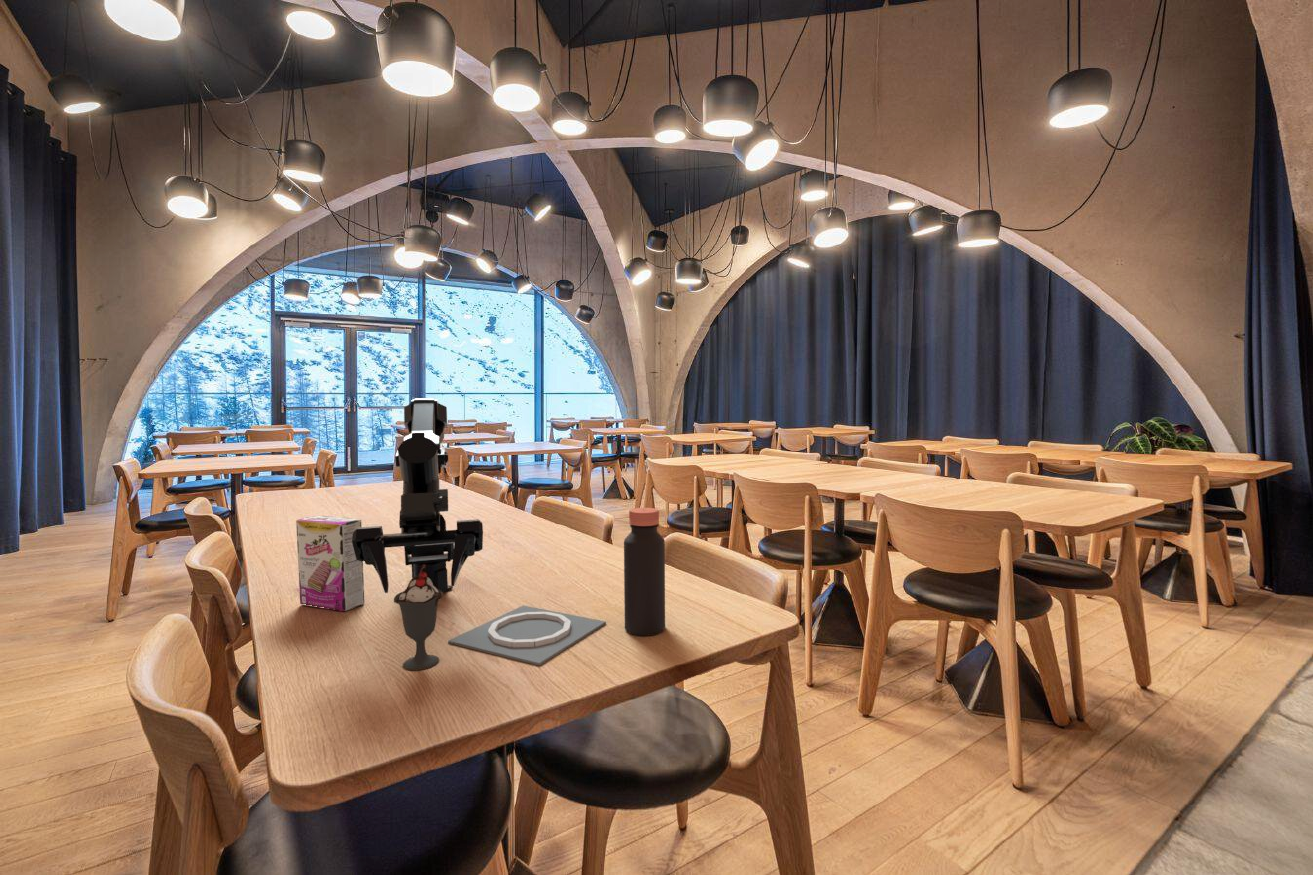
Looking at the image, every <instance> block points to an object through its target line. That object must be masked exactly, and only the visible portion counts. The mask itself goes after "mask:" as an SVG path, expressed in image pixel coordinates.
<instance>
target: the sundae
mask: <svg viewBox="0 0 1313 875" xmlns="http://www.w3.org/2000/svg"><path fill="white" fill-rule="evenodd" d="M424 568H425V564H423V567H422V568H421V571H420V573H419V576H416V577H415V576H413V578H412V577H411V579H410V580H409V582H408V584H407V587H406V588H405V589H404V590H403V591H401V592H399V593H397V594H396V595H395V596H394V598H393V602H394V603H395V604H398V606H399V609H400V612H401V618H402V625H403V629H404V632H405V635H406V636H408V638H410V639H411V640H413V641H414V642H415V648H416V649H415V655H414V656H412V657H410V658H408V659H407V660H405V661H404V662H403V664H402V667H403V669H405V670H407V671H423V670H427V669H430V668H432V667H434V666H436V665H437V664H438V663H439V662H440V659H439V656H436V655H434V654H428V653H427V650H426V640H427V638H429V637H430V636H431V635H432V633H433V632H434V631H435V627H436V623H437V613H438V606H439V600H440V599H442V596H443V595H444V592H442V591H440V590H439V589H436V587H435V586H433V583H432V581H431V579H430V578H428V577H427V574H426V573H425V572H422V570H423V569H424Z"/></svg>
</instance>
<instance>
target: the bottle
mask: <svg viewBox="0 0 1313 875" xmlns="http://www.w3.org/2000/svg"><path fill="white" fill-rule="evenodd" d="M628 512H629V513H628V517H629V518H628V520H629V527H630V528H631V529H630V530H631V531H630V533H628V535H627V536H626V537H625V538H624V540H623V561H624V562H623V580H624V581H623V583H624V584H623V587H624V589H623V590H624V595H623V596H624V597H623V598H624V600H623V601H624V602H623V604H624V629H625V631H626V632H627V633H629V634H631V635H634V636H638V637H640V636H641V637H649V636H655V635H658V634H660V633H662V632H664V630H665V628H666V567H665V566H666V558H665V556H666V555H665V554H666V549H665V546H666V544H665V543H666V542H665V541H666V540H665V538H664V537H663V536H662V535H661V534H660V533H659V532H658V527H659V524H660V510H659V509H658V508H654V507H635V508H631V509H629V511H628Z"/></svg>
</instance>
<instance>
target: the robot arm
mask: <svg viewBox="0 0 1313 875" xmlns="http://www.w3.org/2000/svg"><path fill="white" fill-rule="evenodd" d="M403 424H404V428H405V429H406V430H408V435H406V436H404V437H403V438H402V442H401V443H400V445H399V446H398V447H397V450H396V453H395V456H394V458H395V466H396V468H397V469H398V470H399V471H400V478H401V480H402V482H403V485H402V494H401V495H400V511H399V518H398V519H399V520H398V521H399V522H398V524H399V525H398V526H399V529H400V530H401V531H400V532H397V533H395V532H394V533H386V534H385V533H384V532H383V526H382V525H376V526H361V527H358V528H357V529H356V530H355V531H354V532H353V536H352V544H353V548H354V552H355V556H356V560H358V561H363V562H364V564H365V565H368V566H371V565H372V566H373V568H374V569H375V571H376V573H377V575H378V577H379V580H380V582H381V586H382V589H383V592H384V594H388V592H389V586H390V585H389V576H388V566H387V558H386V552H385V551H386V548H397V547H398V548H399V547H400V548H401V547H404V548H403V549H404V561H405V562H404V563H405V566H410V565H411V579H412V578H413V576H415V577H416V576H419V573H420V571H421V568H422V567H423V564H425V568H424V569H423V570H422V572H425V573H426V574H427V577H428V578H430V579H431V581H432V583H433V586H435V587H436V589H439V590H440V591H442V592H443V593H445V592H448V591H450V590H453V589H454V588H453V587H455V585H456V583H457V579H458V577H459V574H460V572H461V570H462V568H463V566H464V564H465V563H466V560H467V559H468V557H473V556H475V552H480V551H482V550H483V545H484V543H483V542H484V528H483V521H481V520H480V519H476V518H475V519H462V520H461V519H460V520H456V529H449V530H447V522H446V519H445V517H444V516H443V514H441V513H440V512H448V511H449V489H448V488H443V489H441V488H440V477H439V475H440V474H441V473H442V468H445V467H446V466H447V463H448V462H449V453H448V452H447V451H446V450H445V447H443V446H442V447H441V443H442V442H443V440H445V429H448V410H447V406H446V405H443V404H441V403H439V402H438V399H435V398H414V399H411V400H410V403H409V404H408V405H406V406H404V407H403ZM451 561H452V563H451V569H450V570H451V571H450V582H451V584H450V585H449V584H448V582H449V581H448V568H447V562H451Z"/></svg>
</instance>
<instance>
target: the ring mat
mask: <svg viewBox="0 0 1313 875" xmlns="http://www.w3.org/2000/svg"><path fill="white" fill-rule="evenodd" d="M606 624H607V620H606V621H605V620H600V619H595V618H591V617H584V616H580V615H574V614H569V613H565V612H559V611H554V610H547V609H544V608H538V607H534V606H528V605H522V606H518V607H517V608H515V609H513V610H510V611H508V612H507V613H504V614H501V615H500V616H497V617H496V618H493V619H491V620H489V621H487V622H485V623H482V624H481V625H478V626H476V627H474V628H473V629H470V630H467V631H465V632H464V633H462V634H460V635H457V636H455V637H453V638H451V639H449V640H447V643H448V644H450V645H455V646H457V647H458V646H459V647H463V648H466V649H470V650H473V651H474V650H475V651H477V652H482V653H487V654H490V655H491V654H492V655H493V656H494V655H495V656H498V657H503V658H505V659H506V658H507V659H510V660H515V661H519V662H523V663H526V664H530V665H534V666H542V665H543V664H545V663H546V662H548V661H549V660H551V659H553V658H554V657H556V656H557V655H560V654H561V653H562V652H564V651H565V650H567V649H568V648H570V647H572V646H573V645H575V644H576V643H578V642H579V641H581V640H582V639H584V638H586V637H588V636H589V635H590V634H592V633H594V632H595V631H597V630H598V629H600V628H602V627H604V626H605V625H606Z"/></svg>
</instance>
